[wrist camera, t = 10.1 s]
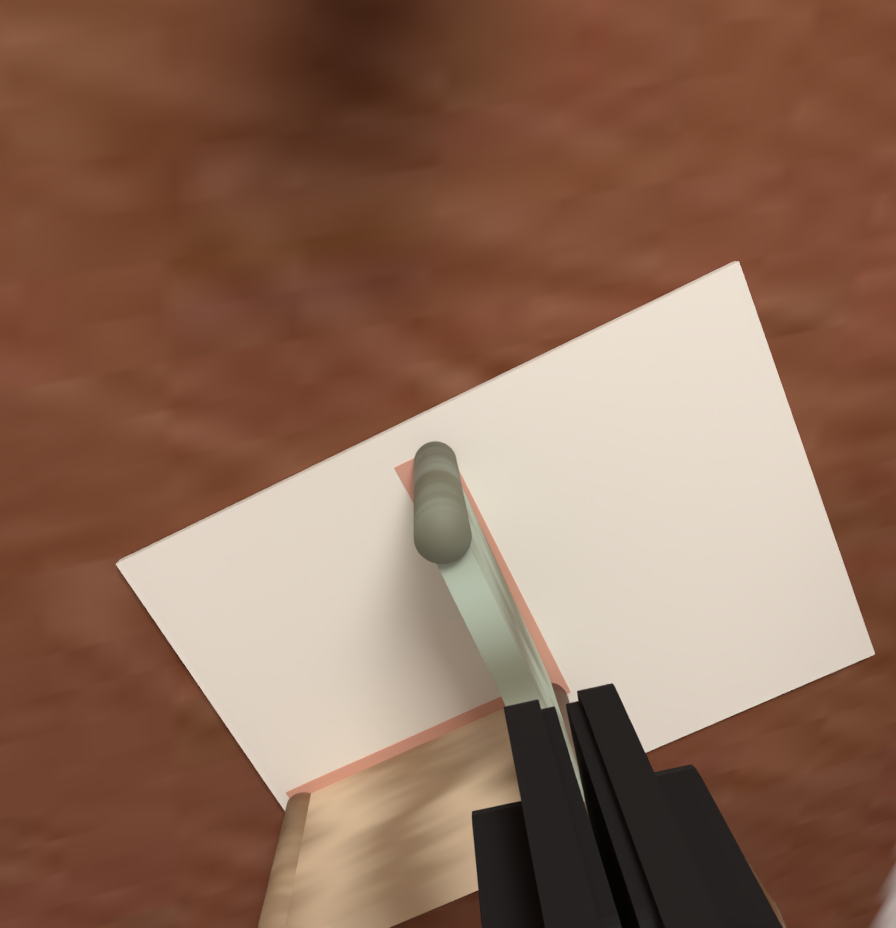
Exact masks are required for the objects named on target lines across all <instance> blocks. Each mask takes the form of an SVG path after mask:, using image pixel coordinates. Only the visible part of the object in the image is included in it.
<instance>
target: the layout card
mask: <svg viewBox="0 0 896 928" xmlns="http://www.w3.org/2000/svg"><path fill="white" fill-rule="evenodd" d="M433 441H438V442H442V443H445V444H447V445H448V446H449V447H451V449H452V450H453V451H454V453H455V455H456V460H457V464H458V469H459V474H460V479H461V484H462V487H463V490H464V492H465V494H466V496H467V498H468V500H469V503H470V505H471V507H472V509H473V511H474V514H475V516H476V518H477V520H478V522H479V524H480V527H481V529H482V531H483V533H484V535H485V537H486V540H487V542H488V544H489V546H490V548H491V551H492V553H493V555H494V557H495V559H496V561H497V564H498V566H499V568H500V570H501V572H502V574H503V577H504V579H505V581H506V583H507V585H508V588H509V590H510V592H511V594H512V596H513V598H514V601H515V603H516V605H517V607H518V609H519V612H520V614H521V616H522V618H523V620H524V622H525V625H526V627H527V629H528V631H529V633H530V635H531V638H532V640H533V642H534V644H535V646H536V649H537V651H538V653H539V655H540V657H541V659H542V662H543V664H544V666H545V668H546V670H547V673H548V675H549V678H550V681H551V683H555V684H558V685H560V686H561V687H562V688H563V689H564V690H565V691H566V693H567V696H568V699H569V702H570V703H571V702H576V701H578V696H577V691H579V690H583V689H588V688H593V687H597V686H602V685H606V684H611V683H613V684H614V686H615V688H616V690H617V692H618V694H619V696H620V699H621V701H622V703H623V705H624V707H625V709H626V712H627V714H628V716H629V718H630V720H631V723H632V725H633V727H634V729H635V731H636V734H637V736H638V738H639V740H640V742H641V745H642V747H643V749H644V751H645V753H646V752H649V751H651V750H653V749H656V748H658V747H660V746H663V745H665V744H667V743H670V742H672V741H674V740H677V739H679V738H681V737H683V736H686V735H688V734H690V733H693V732H695V731H697V730H700V729H702V728H704V727H707V726H709V725H711V724H714V723H716V722H718V721H721V720H723V719H725V718H728V717H730V716H732V715H735V714H737V713H739V712H742V711H744V710H746V709H749V708H751V707H753V706H756V705H758V704H760V703H763V702H765V701H767V700H770V699H772V698H774V697H777V696H779V695H781V694H784V693H786V692H788V691H791V690H793V689H795V688H798V687H800V686H802V685H805V684H807V683H809V682H812V681H814V680H816V679H819V678H821V677H823V676H826V675H828V674H830V673H833V672H835V671H837V670H840V669H842V668H844V667H847V666H849V665H851V664H854V663H856V662H858V661H861V660H863V659H865V658H868V657H870V656H872V655H875V653H874V650H873V647H872V644H871V641H870V638H869V635H868V632H867V630H866V627H865V624H864V621H863V618H862V615H861V612H860V609H859V606H858V604H857V601H856V598H855V595H854V592H853V589H852V586H851V583H850V580H849V578H848V575H847V572H846V569H845V566H844V563H843V560H842V557H841V555H840V552H839V549H838V546H837V543H836V540H835V537H834V534H833V531H832V529H831V526H830V523H829V520H828V517H827V514H826V511H825V508H824V505H823V503H822V500H821V497H820V494H819V491H818V488H817V485H816V482H815V479H814V477H813V474H812V471H811V468H810V465H809V462H808V459H807V456H806V454H805V451H804V448H803V445H802V442H801V439H800V436H799V433H798V430H797V428H796V425H795V422H794V419H793V416H792V413H791V410H790V407H789V404H788V402H787V399H786V396H785V393H784V390H783V387H782V384H781V381H780V378H779V376H778V373H777V370H776V367H775V364H774V361H773V358H772V355H771V353H770V350H769V347H768V344H767V341H766V338H765V335H764V332H763V329H762V327H761V324H760V321H759V318H758V315H757V312H756V309H755V306H754V303H753V301H752V298H751V295H750V292H749V289H748V286H747V283H746V280H745V277H744V275H743V272H742V269H741V266H740V263H739V261H733V262H731V263H729V264H727V265H725V266H723V267H721V268H719V269H717V270H715V271H713V272H711V273H709V274H707V275H704V276H702V277H700V278H698V279H696V280H694V281H692V282H690V283H688V284H686V285H684V286H682V287H680V288H678V289H676V290H674V291H672V292H670V293H667V294H665V295H663V296H661V297H659V298H657V299H655V300H653V301H651V302H649V303H647V304H645V305H643V306H641V307H639V308H637V309H635V310H632V311H630V312H628V313H626V314H624V315H622V316H620V317H618V318H616V319H614V320H612V321H610V322H608V323H606V324H604V325H602V326H600V327H598V328H595V329H593V330H591V331H589V332H587V333H585V334H583V335H581V336H579V337H577V338H575V339H573V340H571V341H569V342H567V343H565V344H563V345H560V346H558V347H556V348H554V349H552V350H550V351H548V352H546V353H544V354H542V355H540V356H538V357H536V358H534V359H532V360H530V361H528V362H526V363H523V364H521V365H519V366H517V367H515V368H513V369H511V370H509V371H507V372H505V373H503V374H501V375H499V376H497V377H495V378H493V379H491V380H488V381H486V382H484V383H482V384H480V385H478V386H476V387H474V388H472V389H470V390H468V391H466V392H464V393H462V394H460V395H458V396H456V397H454V398H451V399H449V400H447V401H445V402H443V403H441V404H439V405H437V406H435V407H433V408H431V409H429V410H427V411H425V412H423V413H421V414H419V415H416V416H414V417H412V418H410V419H408V420H406V421H404V422H402V423H400V424H398V425H396V426H394V427H392V428H390V429H388V430H386V431H384V432H382V433H379V434H377V435H375V436H373V437H371V438H369V439H367V440H365V441H363V442H361V443H359V444H357V445H355V446H353V447H351V448H349V449H347V450H344V451H342V452H340V453H338V454H336V455H334V456H332V457H330V458H328V459H326V460H324V461H322V462H320V463H318V464H316V465H314V466H312V467H310V468H307V469H305V470H303V471H301V472H299V473H297V474H295V475H293V476H291V477H289V478H287V479H285V480H283V481H281V482H279V483H277V484H275V485H272V486H270V487H268V488H266V489H264V490H262V491H260V492H258V493H256V494H254V495H252V496H250V497H248V498H246V499H244V500H242V501H240V502H237V503H235V504H233V505H231V506H229V507H227V508H225V509H223V510H221V511H219V512H217V513H215V514H213V515H211V516H209V517H207V518H205V519H203V520H200V521H198V522H196V523H194V524H192V525H190V526H188V527H186V528H184V529H182V530H180V531H178V532H176V533H174V534H172V535H170V536H168V537H165V538H163V539H161V540H159V541H157V542H155V543H153V544H151V545H149V546H147V547H145V548H143V549H141V550H139V551H137V552H135V553H133V554H131V555H128V556H126V557H124V558H122V559H120V560H119V561H118V562H117V563H116V565H117V567H118V568H119V570H120V571H121V573H122V574H123V576H124V577H125V579H126V580H127V581H128V583H129V584H130V586H131V587H132V589H133V590H134V592H135V593H136V595H137V596H138V598H139V599H140V600H141V602H142V603H143V605H144V606H145V608H146V609H147V611H148V612H149V614H150V615H151V617H152V618H153V619H154V621H155V622H156V624H157V625H158V627H159V628H160V630H161V631H162V633H163V634H164V635H165V637H166V638H167V640H168V641H169V643H170V644H171V646H172V647H173V649H174V650H175V652H176V653H177V654H178V656H179V657H180V659H181V660H182V662H183V663H184V665H185V666H186V668H187V669H188V671H189V672H190V673H191V675H192V676H193V678H194V679H195V681H196V682H197V684H198V685H199V687H200V688H201V690H202V691H203V692H204V694H205V695H206V697H207V698H208V700H209V701H210V703H211V704H212V706H213V707H214V709H215V710H216V711H217V713H218V714H219V716H220V717H221V719H222V720H223V722H224V723H225V725H226V726H227V727H228V729H229V730H230V732H231V733H232V735H233V736H234V738H235V739H236V741H237V742H238V744H239V745H240V746H241V748H242V749H243V751H244V752H245V754H246V755H247V757H248V758H249V760H250V761H251V763H252V764H253V765H254V767H255V768H256V770H257V771H258V773H259V774H260V776H261V777H262V779H263V780H264V782H265V783H266V784H267V786H268V787H269V789H270V790H271V792H272V793H273V795H274V796H275V798H276V799H277V801H278V802H279V803H280V805H281V806H282V808H283V809H284V811H285V810H286V805H287V802H288V800H289V799H290V798H291V797H292V796H293V795H295V794H298V793H302V792H307V793H313V792H315V791H317V790H320V789H322V788H324V787H326V786H329V785H331V784H333V783H335V782H338V781H340V780H342V779H345V778H347V777H349V776H351V775H354V774H356V773H358V772H360V771H363V770H365V769H367V768H369V767H372V766H374V765H376V764H378V763H381V762H383V761H385V760H387V759H390V758H392V757H394V756H396V755H399V754H401V753H403V752H406V751H408V750H410V749H412V748H415V747H417V746H419V745H421V744H424V743H426V742H428V741H430V740H433V739H435V738H437V737H439V736H442V735H444V734H446V733H448V732H451V731H453V730H455V729H457V728H460V727H462V726H464V725H466V724H469V723H471V722H473V721H476V720H478V719H480V718H482V717H485V716H487V715H489V714H491V713H494V712H496V711H498V710H500V709H503V708H504V707H505V706H506V705H505V703H504V701H503V699H502V697H501V695H500V693H499V691H498V689H497V687H496V685H495V683H494V681H493V679H492V677H491V675H490V673H489V671H488V668H487V666H486V664H485V662H484V660H483V658H482V656H481V654H480V652H479V650H478V648H477V646H476V644H475V642H474V640H473V638H472V636H471V634H470V632H469V629H468V627H467V625H466V623H465V621H464V619H463V617H462V615H461V613H460V611H459V609H458V607H457V605H456V603H455V601H454V599H453V597H452V595H451V593H450V590H449V588H448V586H447V584H446V582H445V580H444V578H443V576H442V574H441V572H440V570H439V568H438V566H437V564H436V563H432V562H430V561H428V560H426V559H425V558H423V557H422V556H421V555H420V554H419V552H418V551H417V549H416V547H415V544H414V457H415V454H416V452H417V451H418V449H419V448H420V447H421V446H423V445H424V444H426V443H428V442H433Z"/></svg>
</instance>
